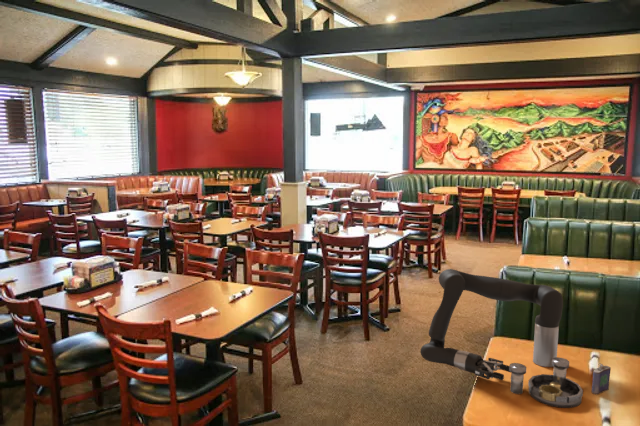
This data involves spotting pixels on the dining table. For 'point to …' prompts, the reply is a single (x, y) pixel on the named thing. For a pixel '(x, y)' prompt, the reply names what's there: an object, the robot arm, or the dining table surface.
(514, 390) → the silver capped cylinder
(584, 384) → the dining table surface
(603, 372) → the flask
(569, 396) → the carrier
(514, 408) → the dining table surface
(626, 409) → the dining table surface
